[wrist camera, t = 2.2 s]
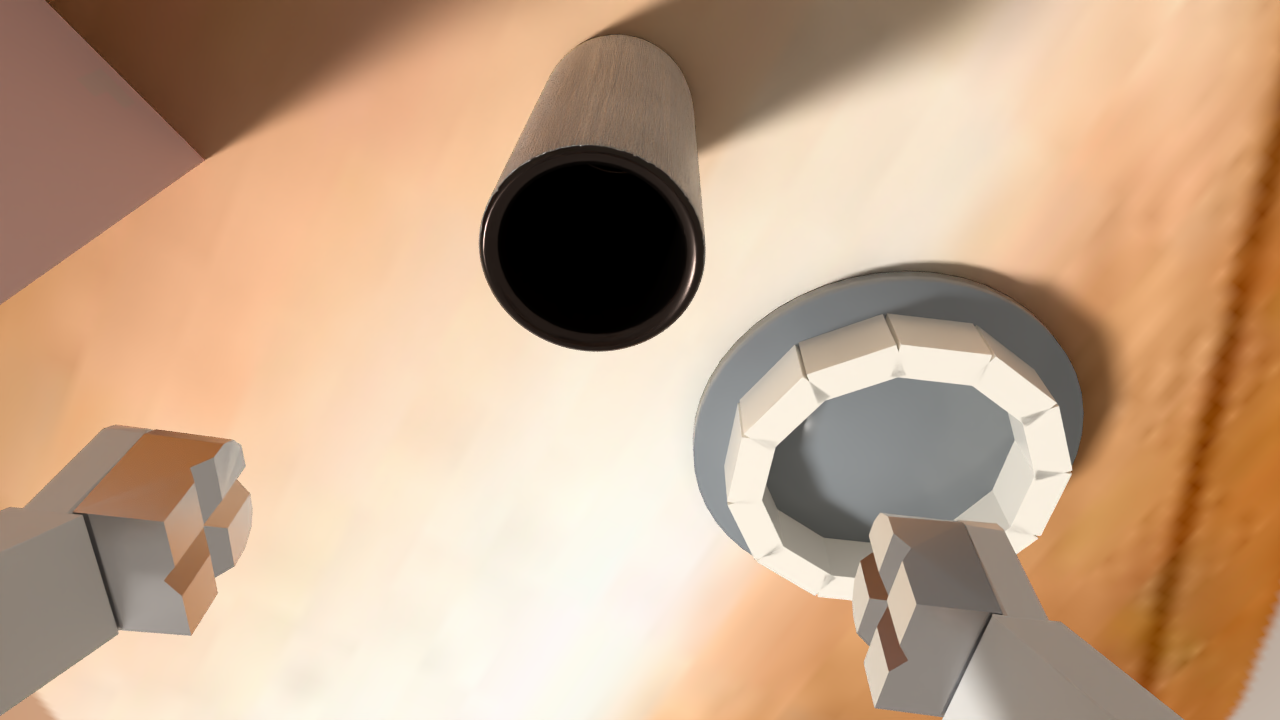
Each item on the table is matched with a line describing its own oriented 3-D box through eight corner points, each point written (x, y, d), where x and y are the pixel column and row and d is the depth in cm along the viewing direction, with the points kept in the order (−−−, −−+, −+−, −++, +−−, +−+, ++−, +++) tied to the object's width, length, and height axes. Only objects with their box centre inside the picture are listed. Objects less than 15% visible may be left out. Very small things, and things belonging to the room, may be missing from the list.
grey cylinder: (625, -3, 24) (600, 93, 15) (723, 120, 25) (752, 271, 17) (512, 102, 25) (429, 244, 17) (612, 210, 27) (584, 390, 18)
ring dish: (726, 247, 28) (732, 287, 25) (1140, 297, 28) (1183, 339, 26) (670, 552, 35) (670, 605, 33) (997, 587, 36) (1021, 641, 33)
